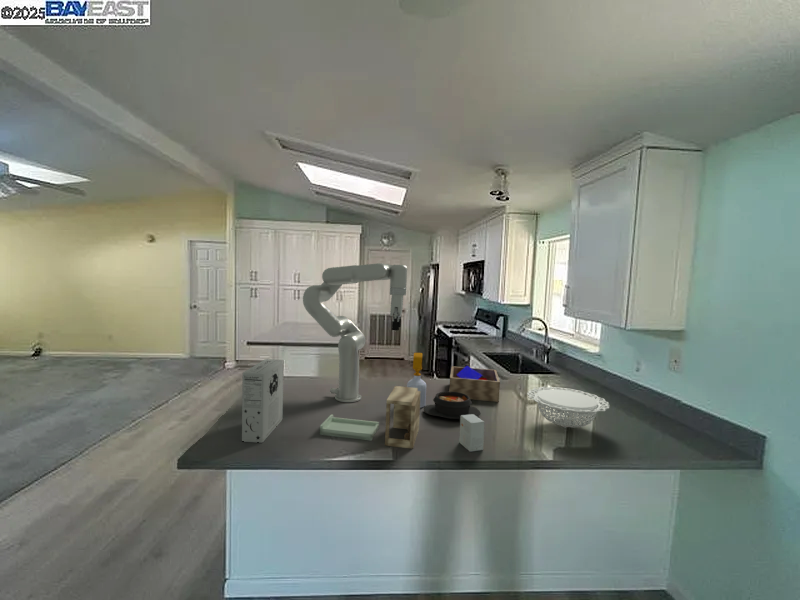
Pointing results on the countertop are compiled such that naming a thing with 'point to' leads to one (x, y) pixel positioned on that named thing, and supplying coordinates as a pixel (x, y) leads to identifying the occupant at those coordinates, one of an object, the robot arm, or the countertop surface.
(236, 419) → the countertop surface
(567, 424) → the colander
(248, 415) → the cereal box
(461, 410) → the casserole
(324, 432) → the tray
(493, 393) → the open wooden box
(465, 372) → the house
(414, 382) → the soap bottle
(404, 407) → the shelf
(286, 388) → the countertop surface
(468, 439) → the small box
